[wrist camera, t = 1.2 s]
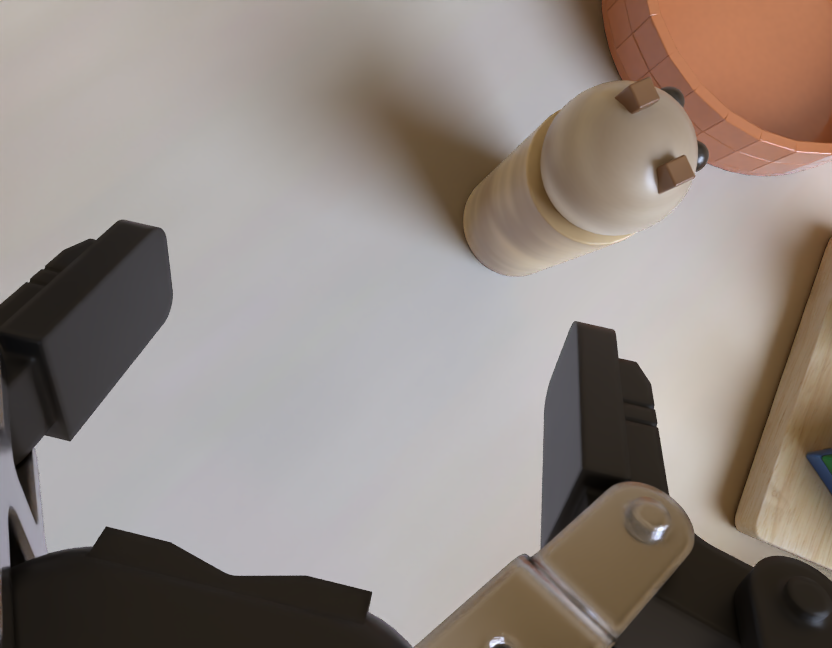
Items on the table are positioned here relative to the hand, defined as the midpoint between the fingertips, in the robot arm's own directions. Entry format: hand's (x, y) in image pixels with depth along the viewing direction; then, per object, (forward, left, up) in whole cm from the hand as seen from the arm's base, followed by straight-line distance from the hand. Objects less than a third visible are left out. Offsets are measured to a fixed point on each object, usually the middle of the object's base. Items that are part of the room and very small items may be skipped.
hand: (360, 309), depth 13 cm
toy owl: (-1, +11, -18) cm, 22 cm away
